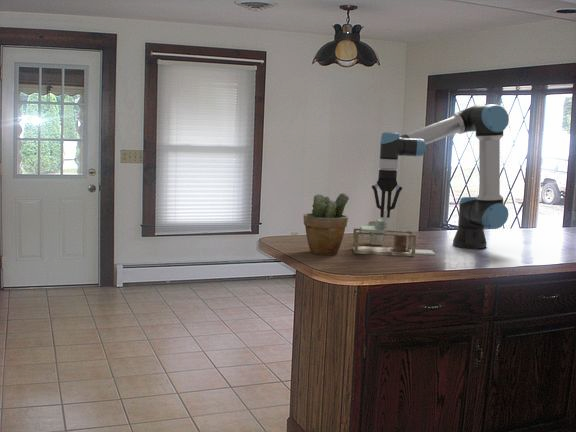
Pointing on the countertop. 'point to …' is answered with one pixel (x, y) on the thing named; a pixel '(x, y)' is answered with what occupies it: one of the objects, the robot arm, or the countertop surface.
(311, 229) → the potted plant
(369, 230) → the cover
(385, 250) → the grey rectangular frame
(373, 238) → the mug
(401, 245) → the block
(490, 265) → the countertop surface
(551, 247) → the countertop surface
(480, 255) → the countertop surface
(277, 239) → the countertop surface
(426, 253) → the coaster
